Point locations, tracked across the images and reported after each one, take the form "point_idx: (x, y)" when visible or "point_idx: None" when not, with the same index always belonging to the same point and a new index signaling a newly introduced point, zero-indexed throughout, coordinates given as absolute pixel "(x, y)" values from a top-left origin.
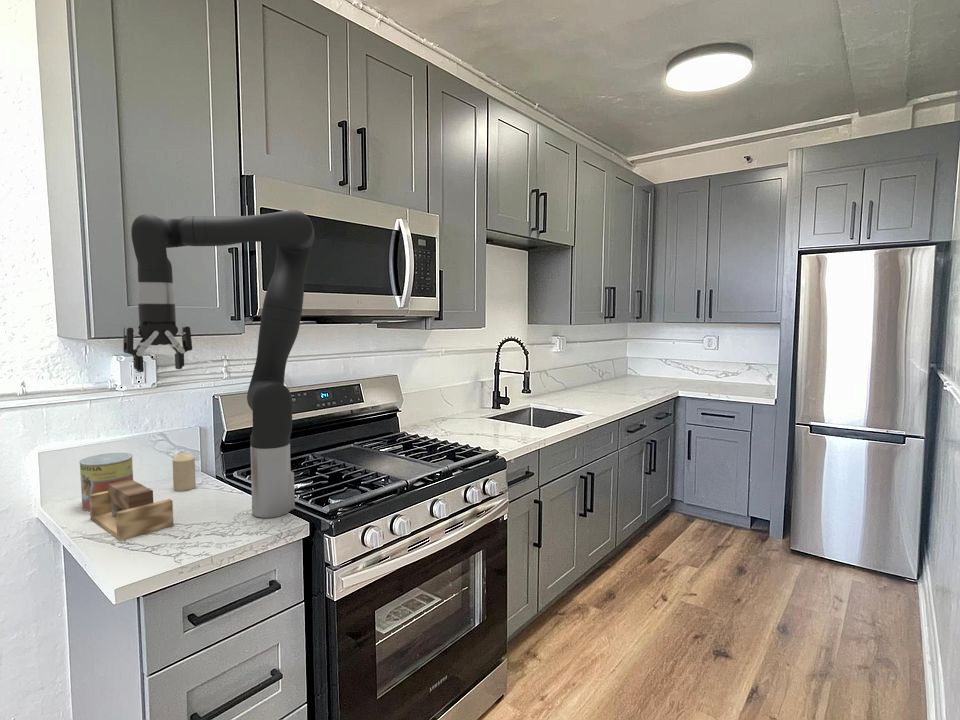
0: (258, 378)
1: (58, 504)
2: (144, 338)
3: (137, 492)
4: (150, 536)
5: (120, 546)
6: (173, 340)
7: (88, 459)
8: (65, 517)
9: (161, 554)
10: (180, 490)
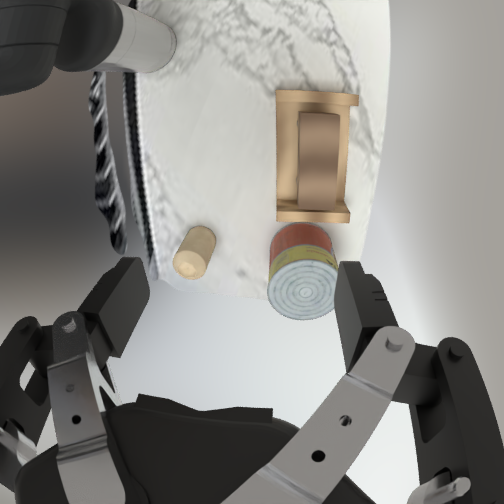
0: None
1: None
2: (349, 479)
3: (322, 122)
4: (315, 75)
5: (354, 74)
6: (74, 402)
7: (324, 306)
8: (356, 238)
9: (327, 11)
10: (210, 231)
